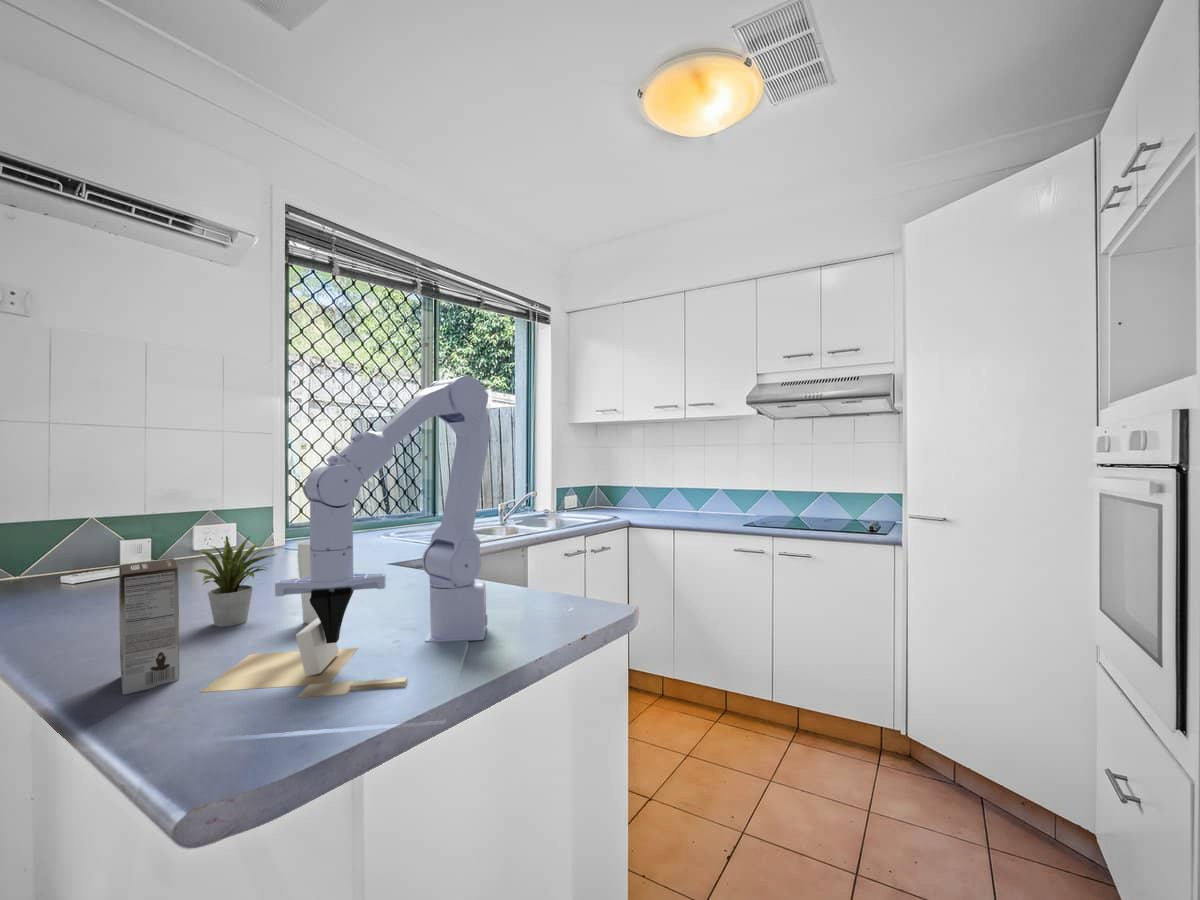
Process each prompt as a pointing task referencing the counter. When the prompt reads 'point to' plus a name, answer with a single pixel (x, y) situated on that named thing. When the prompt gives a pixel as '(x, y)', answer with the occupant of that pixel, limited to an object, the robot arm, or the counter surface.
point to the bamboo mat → (276, 672)
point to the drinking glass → (304, 571)
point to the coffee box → (149, 624)
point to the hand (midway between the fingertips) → (332, 640)
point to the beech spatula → (350, 687)
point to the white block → (315, 648)
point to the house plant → (231, 584)
